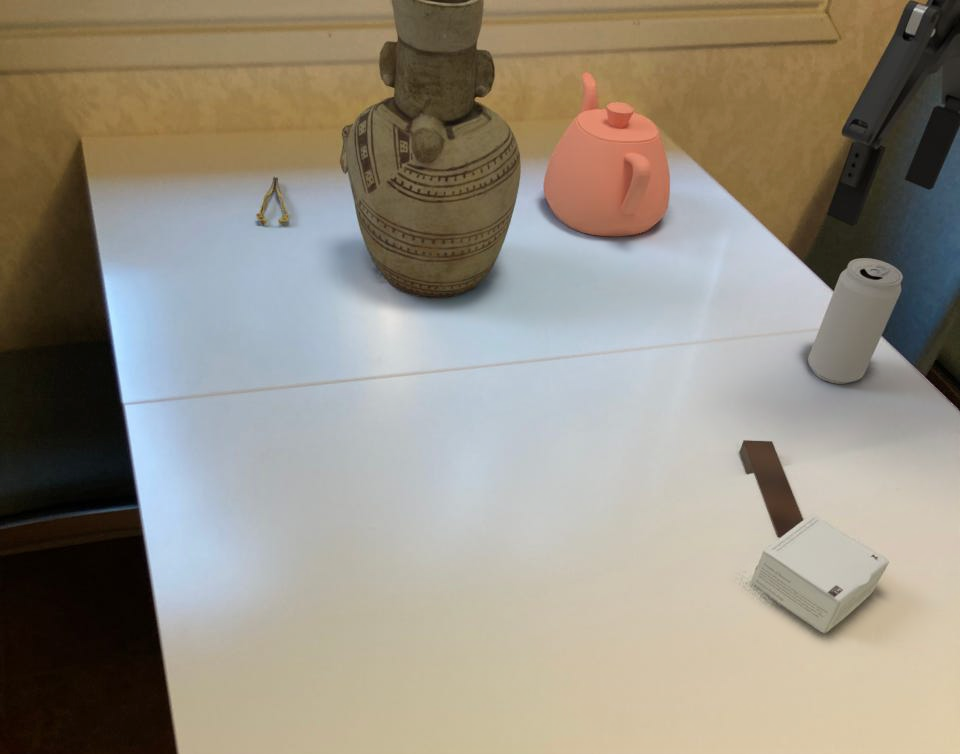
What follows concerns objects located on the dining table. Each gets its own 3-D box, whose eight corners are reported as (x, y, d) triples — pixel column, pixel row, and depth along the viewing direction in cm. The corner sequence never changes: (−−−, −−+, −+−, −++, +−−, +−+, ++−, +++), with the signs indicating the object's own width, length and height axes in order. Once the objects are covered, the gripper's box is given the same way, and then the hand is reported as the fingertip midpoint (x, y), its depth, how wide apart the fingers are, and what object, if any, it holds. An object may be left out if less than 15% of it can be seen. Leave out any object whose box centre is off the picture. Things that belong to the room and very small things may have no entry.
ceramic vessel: (397, 216, 122) (399, -63, 99) (537, 267, 116) (573, -19, 93) (307, 272, 111) (286, -28, 88) (456, 332, 105) (475, 25, 82)
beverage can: (794, 367, 105) (832, 266, 96) (826, 349, 108) (865, 249, 99) (842, 394, 102) (885, 292, 93) (873, 375, 105) (918, 274, 96)
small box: (794, 553, 84) (814, 510, 81) (869, 602, 81) (893, 560, 77) (743, 592, 81) (761, 549, 77) (819, 645, 77) (842, 603, 73)
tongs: (285, 182, 126) (283, 167, 125) (291, 231, 118) (290, 216, 117) (253, 183, 125) (251, 167, 124) (257, 232, 118) (256, 216, 116)
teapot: (518, 171, 134) (528, 68, 124) (626, 169, 138) (645, 67, 127) (569, 255, 118) (586, 144, 108) (690, 250, 122) (717, 142, 112)
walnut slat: (804, 548, 85) (810, 536, 84) (773, 547, 85) (778, 535, 84) (767, 452, 94) (772, 440, 93) (739, 451, 94) (743, 439, 93)
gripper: (1021, -106, 78) (914, 157, 94) (862, -77, 66) (770, 219, 82) (1108, -85, 75) (981, 184, 91) (957, -50, 63) (842, 253, 79)
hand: (881, 201), depth 87 cm, fingers open, 13 cm apart
